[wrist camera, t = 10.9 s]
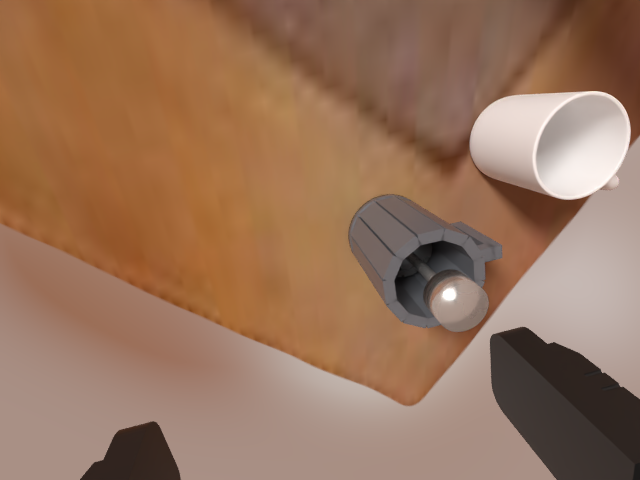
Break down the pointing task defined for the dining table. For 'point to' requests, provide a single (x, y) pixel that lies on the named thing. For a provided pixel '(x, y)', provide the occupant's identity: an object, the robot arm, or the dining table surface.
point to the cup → (553, 142)
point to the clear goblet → (447, 292)
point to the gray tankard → (405, 237)
